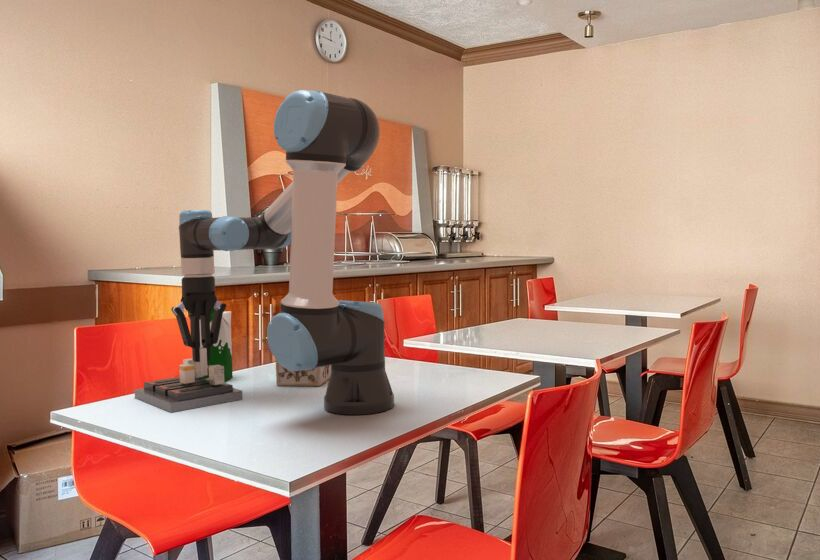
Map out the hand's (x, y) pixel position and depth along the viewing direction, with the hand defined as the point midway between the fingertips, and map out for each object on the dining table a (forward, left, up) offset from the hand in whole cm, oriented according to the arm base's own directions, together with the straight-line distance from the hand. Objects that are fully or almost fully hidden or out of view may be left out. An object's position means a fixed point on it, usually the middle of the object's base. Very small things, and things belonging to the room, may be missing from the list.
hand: (202, 374), depth 166 cm
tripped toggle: (0, +4, -1) cm, 4 cm away
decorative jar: (-5, -26, -5) cm, 27 cm away
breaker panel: (0, +4, -5) cm, 6 cm away
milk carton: (+15, -11, -5) cm, 19 cm away
